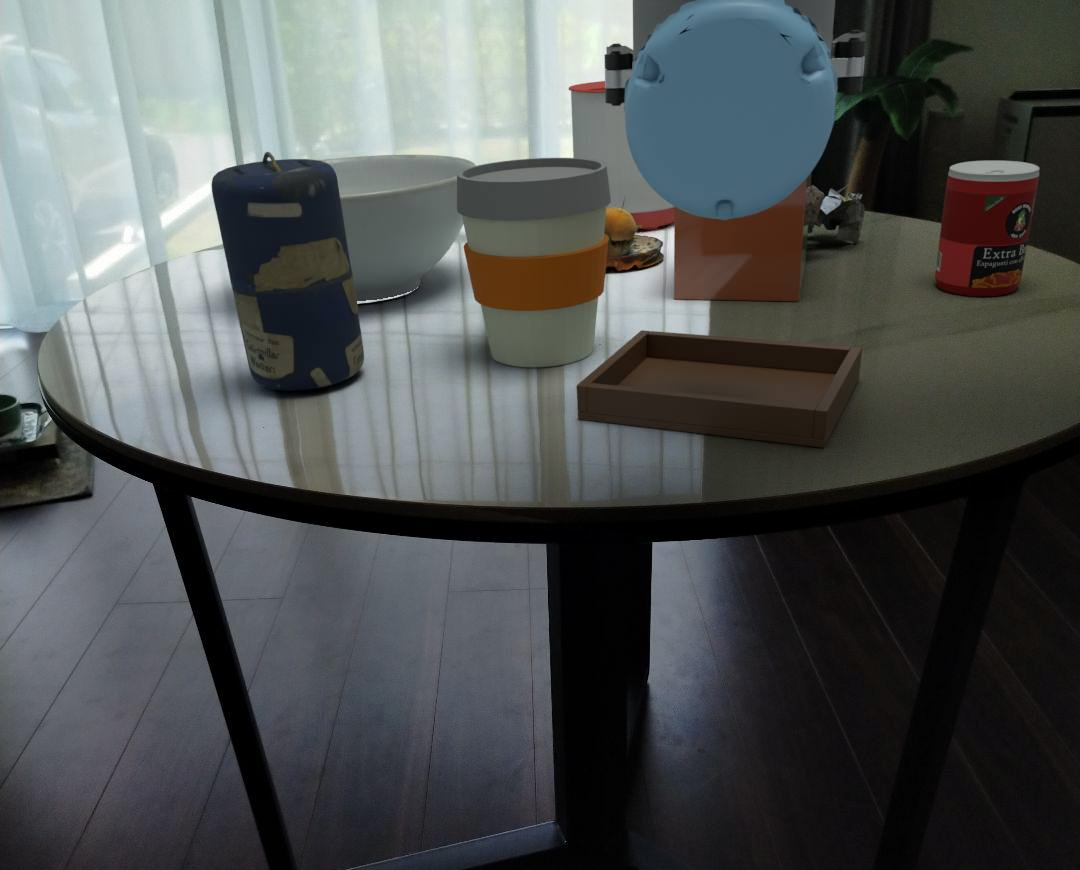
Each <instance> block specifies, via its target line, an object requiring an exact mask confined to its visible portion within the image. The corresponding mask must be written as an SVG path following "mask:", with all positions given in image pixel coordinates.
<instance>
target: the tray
mask: <svg viewBox="0 0 1080 870" xmlns="http://www.w3.org/2000/svg"><path fill="white" fill-rule="evenodd" d="M862 352H863V347H860V346H850V345H849V346H848V345H836V344H823V343H822V344H821V343H811V342H798V341H797V342H796V341H784V340H783V341H782V340H772V339H771V340H769V339H757V338H745V337H732V336H718V335H708V334H707V335H705V334H693V333H681V332H669V331H657V330H656V331H655V330H644V329H643V330H640V331H638V333H636V334H635V335H634V336H633V337H631V339H629V340H628V341H627V342H626V343H625V344H623V346H621V347H620V348H619V349H618V350H616V351H615V352H614V353H613V354H612V355H611V356H609V357H608V358H607V359H606V360H605V361H603V363H601V364H599V366H598V367H596V369H594V370H593V371H592V372H591V373H589V374H588V375H587V376H586V377H585V378H584V379H582V380H581V381H580V382H579V383H578V384H576V401H577V403H576V404H577V405H576V406H577V419H578V420H584V421H594V422H600V423H607V424H608V423H610V424H618V425H626V426H634V427H642V428H651V429H659V430H660V429H661V430H667V431H677V432H686V433H695V434H703V435H712V436H718V437H719V436H720V437H727V438H736V439H745V440H754V441H761V442H762V441H763V442H770V443H771V442H772V443H778V444H788V445H796V446H805V447H811V448H812V447H813V448H822V449H824V448H825V447H826V445H827V444H828V441H829V439H830V437H831V435H832V434H833V431H834V429H835V427H836V425H837V423H838V421H839V419H840V417H841V416H842V413H843V411H844V410H845V408H846V406H847V404H848V402H849V399H850V398H851V396H852V394H853V393H854V390H855V388H856V386H857V385H858V382H859V381H860V373H861V364H862V354H863V353H862Z"/></svg>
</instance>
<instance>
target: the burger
mask: <svg viewBox="0 0 1080 870" xmlns="http://www.w3.org/2000/svg"><path fill="white" fill-rule="evenodd" d="M624 201H625V198H624ZM623 206H624V202H623ZM623 206H622V208H623ZM641 227H642V225H640V226H637V225H636V223H635V221H634V219H633V217H632V215H631V214H630V213H629V212H627V211H626V210H623V209H621V208H617V207H611V208H607V209H606V219H605V230H604V233H605V234H606V235H607V236H608V237H609V241H608V251H607V261H606V268H607V267H610V268H613V267H614V268H615V269H616V271H619V272H620V271H622V270H625V271H627V270H630V269H631V268H633V267H634V266H636V267H637V269H641V268H645V267H649V266H653V265H655V264H657V263H659V262H660V261H662V260H663V259H664V258H665V255H664V254H663V253H662V252H661V251H662V247H663V246H664V242H663V240H660V239H659V238H657V237H655V236H648V235H640V234H636V233H637V232H638V231H639V229H638V228H641ZM641 229H642V228H641Z"/></svg>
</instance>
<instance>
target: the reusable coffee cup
mask: <svg viewBox="0 0 1080 870" xmlns="http://www.w3.org/2000/svg"><path fill="white" fill-rule="evenodd" d="M610 202H611V197H610V189H609V181H608V173H607V165H606V163H604V162H602V161H598V160H592V159H583V158H573V157H536V158H535V157H534V158H522V159H519V158H518V159H511V160H510V159H509V160H501V161H494V162H488V163H483V164H478V165H476V166H473V167H470V168H467V169H463V170H462V171H460V172H458V174H457V212H458V213H459V214H461V215H462V219H463V223H464V224H463V228H464V232H465V237H466V241H467V242H465V243H464V245H463V251H464V256H465V261H466V265H467V270H468V274H469V279H470V285H471V289H472V293H473V297H474V300H475V302H477V303H478V304H479V305H480V308H481V312H482V316H483V317H482V318H483V321H484V326H485V331H486V335H487V340H488V344H489V349H490V354H491V357H492V358H493V360H494V361H497V362H499V363H501V364H504V365H507V366H511V367H520V368H547V367H557V366H558V367H559V366H562V365H563V366H565V365H567V364H572V363H576V362H579V361H581V360H584V359H585V358H587V357H588V356H590V355H591V354H592V353H593V352H594V345H595V338H596V337H595V336H596V326H597V313H598V304H599V297H601V296H602V294H604V291H605V281H606V272H607V271H606V270H607V267H606V261H607V251H608V241H609V237H608V236H607V235H606V234H605V233H604V230H605V219H606V208H607V205H609V204H610Z"/></svg>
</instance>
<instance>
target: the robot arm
mask: <svg viewBox="0 0 1080 870" xmlns="http://www.w3.org/2000/svg"><path fill="white" fill-rule="evenodd" d="M835 8H836V0H632V48H631V47H629V46H627V45H622V44H621V43H620V42H619V43H612V44H611V45H609V46H606V49H605V50H606V53H605V54H604V81H605V88H607V89H605V102H606V103H608V104H612V106H620V105H621V104H622V103H625V127H626V135H627V140H628V145H629V148H630V151H631V154H632V157H633V159H634V162H635V164H636V166H637V168H638V170H639V171H640V173H641V175H642V176H643V178H644V179H645V180H646V182H647V183H648V184H649V185H650V187H651V188H652V189H653V190H654V191H655V192H656V193H657V194H658V195H660V196H661V197H662V198H663V199H664V200H666V201H667V202H669V203H670V204H672V205H673V206H675V207H677V208H679V209H681V210H683V211H685V212H688V213H690V214H693V215H696V216H701V217H706V218H713V219H721V220H728V219H733V218H740V217H745V216H749V215H752V214H755V213H758V212H761V211H763V210H766V209H768V208H770V207H771V206H773V205H775V204H777V203H779V202H780V201H782V200H783V199H785V198H786V197H787V196H788V195H790V194H791V193H792V192H793V191H794V190H795V189H796V188H797V187H798V186H799V185H800V184H802V183H803V182H804V180H805V179H806V178H807V177H808V176H809V174H810V173H811V172H813V170H815V168H816V166H817V165H818V163H819V162H820V160H821V157H822V156H823V154H824V152H825V149H826V147H827V144H828V142H829V139H830V137H831V134H832V132H833V128H834V124H835V119H836V115H837V114H836V98H837V93H840V94H844V96H854V95H855V94H856V93H861V92H862V90H863V81H864V77H863V76H864V70H865V59H866V49H867V48H866V46H867V40H866V35H867V32H863V31H862V30H860V29H852V30H850V31H849V32H846V33H843V34H842V35H839V36H838V37H836V38H835V39H834V33H833V32H834V22H835V21H834V19H835V10H836V9H835Z"/></svg>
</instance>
